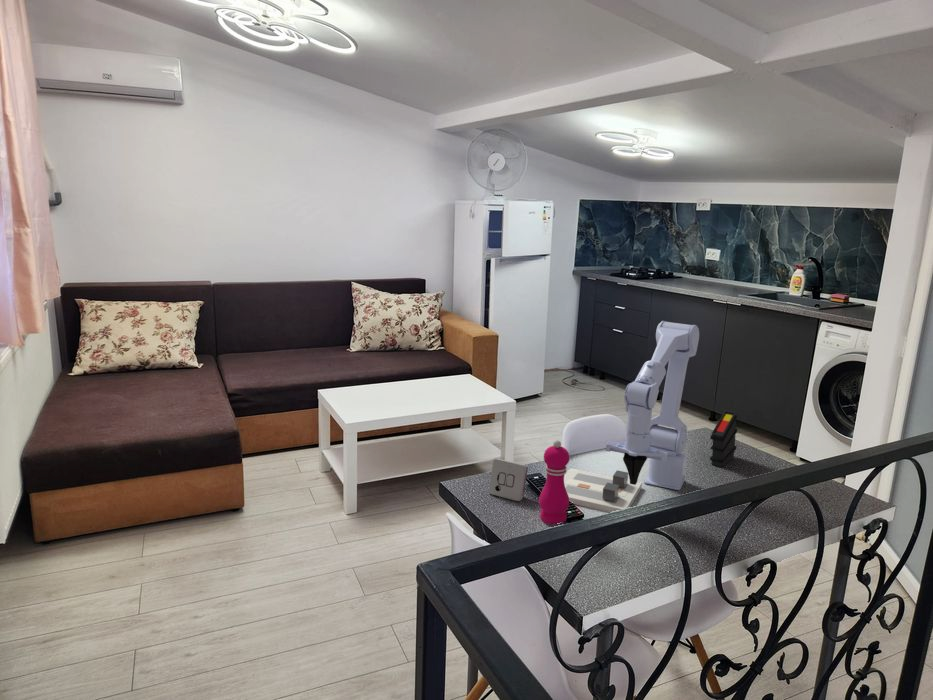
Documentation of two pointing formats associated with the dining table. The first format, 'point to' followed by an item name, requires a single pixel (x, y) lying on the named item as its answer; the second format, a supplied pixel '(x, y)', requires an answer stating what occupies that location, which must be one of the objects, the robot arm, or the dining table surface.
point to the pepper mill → (554, 485)
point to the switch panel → (597, 491)
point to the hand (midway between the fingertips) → (633, 482)
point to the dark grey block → (620, 478)
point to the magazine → (724, 439)
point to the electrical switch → (508, 479)
